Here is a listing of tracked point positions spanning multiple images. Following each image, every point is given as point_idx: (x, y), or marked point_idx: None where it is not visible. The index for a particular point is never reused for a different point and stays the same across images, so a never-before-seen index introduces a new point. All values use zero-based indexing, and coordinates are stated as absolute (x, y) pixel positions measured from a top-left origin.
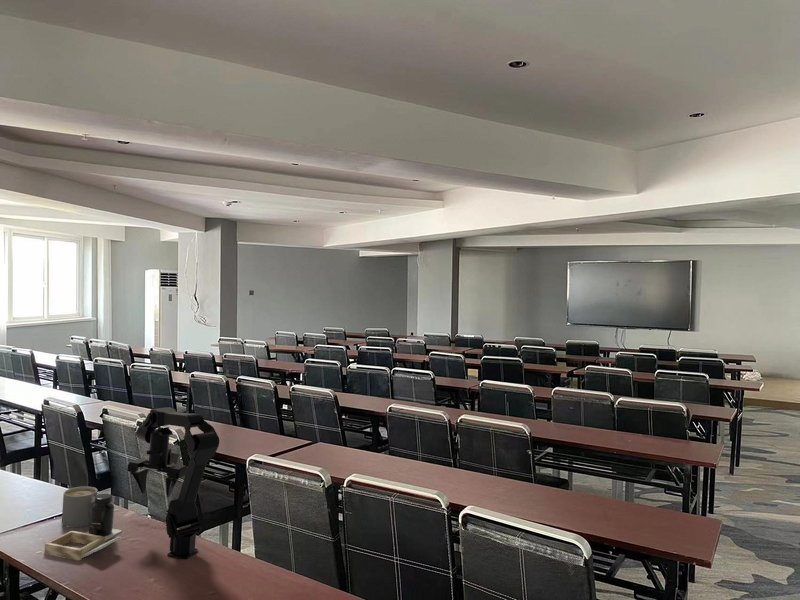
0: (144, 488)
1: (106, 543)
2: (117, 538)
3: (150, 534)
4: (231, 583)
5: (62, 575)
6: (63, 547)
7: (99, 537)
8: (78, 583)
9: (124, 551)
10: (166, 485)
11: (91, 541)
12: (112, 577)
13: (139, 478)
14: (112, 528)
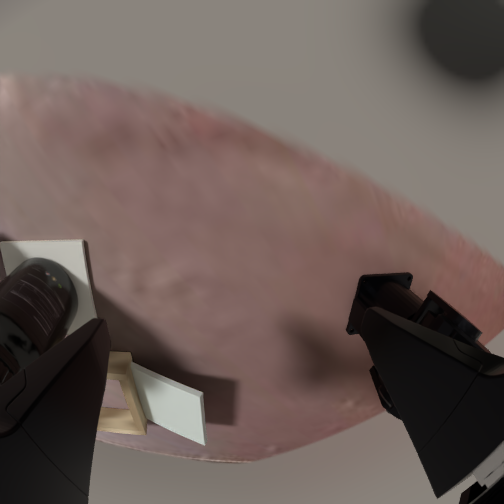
0: (98, 356)
1: (198, 430)
2: (201, 407)
3: (202, 217)
4: None
5: (175, 448)
6: (99, 429)
7: (114, 379)
8: (226, 453)
9: (210, 355)
10: (413, 436)
11: None
12: (272, 429)
13: (83, 499)
14: (62, 278)
